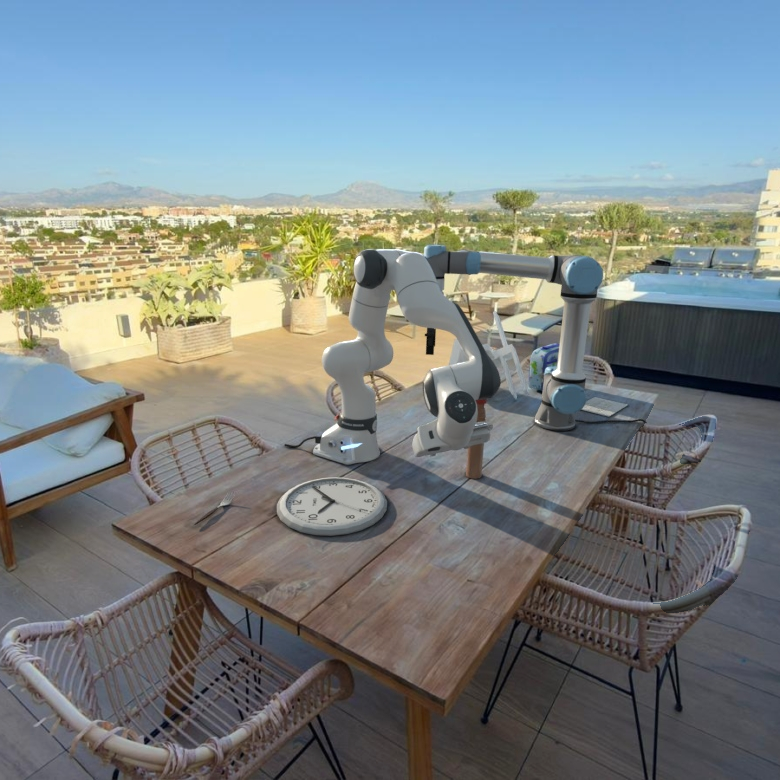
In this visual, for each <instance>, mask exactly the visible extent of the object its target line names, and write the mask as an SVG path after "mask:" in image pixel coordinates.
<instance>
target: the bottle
mask: <svg viewBox="0 0 780 780" xmlns="http://www.w3.org/2000/svg"><path fill="white" fill-rule="evenodd" d="M477 410H478V415H477V421H476V423H478V422H486V423H487V414H486V406H485V404H477ZM484 449H485V443H481V444H477V445H472V446H470V448H468V449H467V455H466V458H467V459H466V468H465V469H466V470H465V476H466V477H467V478H469V479H473V480H474V479H475V480H478V479H481V478H482V475H483V463H484V462H483V461H484Z"/></svg>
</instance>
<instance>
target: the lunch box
mask: <svg viewBox="0 0 780 780" xmlns="http://www.w3.org/2000/svg"><path fill="white" fill-rule="evenodd" d="M559 345H560V343H551V344H548V345H544V346H541V347H538V348H536V349H534V350H533V351H532V353H531V355H530V359H529V370H528V371H529V372H528V389H531V390H536V391H541V392H543V382H544V373H545V369H546V368H547V367H553V366H557V363H558V354H559Z"/></svg>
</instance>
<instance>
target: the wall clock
mask: <svg viewBox="0 0 780 780" xmlns="http://www.w3.org/2000/svg"><path fill="white" fill-rule="evenodd" d="M387 509H388V500H387V498H386V496H385V494H384V493H383V492H382V491H381V490H380V489H379V488H377V487H376V486H374V485H372V484H371V483H369V482H365V481H362V480H359V479H355V478H349V477H338V476H337V477H335V476H333V477H332V476H331V477H322V478H317V479H312V480H307V481H305V482H302V483H299V484H297V485H295V486H293V487H292V488H290V489H288V490H287V491H286V492H285V493H284V494H283V495H281V496H280V498H279V499H278V502H277V503H276V515H277V517H278V518H279V520H280V521H281V522H282V523H283V524H285V525H286V526H287V527H288V528H290V529H293V530H295V531H297V532H299V533H303V534H308V535H312V536H327V537H328V536H329V537H331V536H332V537H333V536H342V535H350V534H352V533H356V532H361V531H363V530H366V529H368V528H369V527H372V526H373V525H375V524H376V523H378V522H379V521H380V520H381V519H382V518H383V517H384V516H385V514H386V512H387Z"/></svg>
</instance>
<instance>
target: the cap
mask: <svg viewBox="0 0 780 780" xmlns="http://www.w3.org/2000/svg"><path fill="white" fill-rule="evenodd" d="M475 401H476V404H484V405H486V404H487V403H488V399H483V400H475Z"/></svg>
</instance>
